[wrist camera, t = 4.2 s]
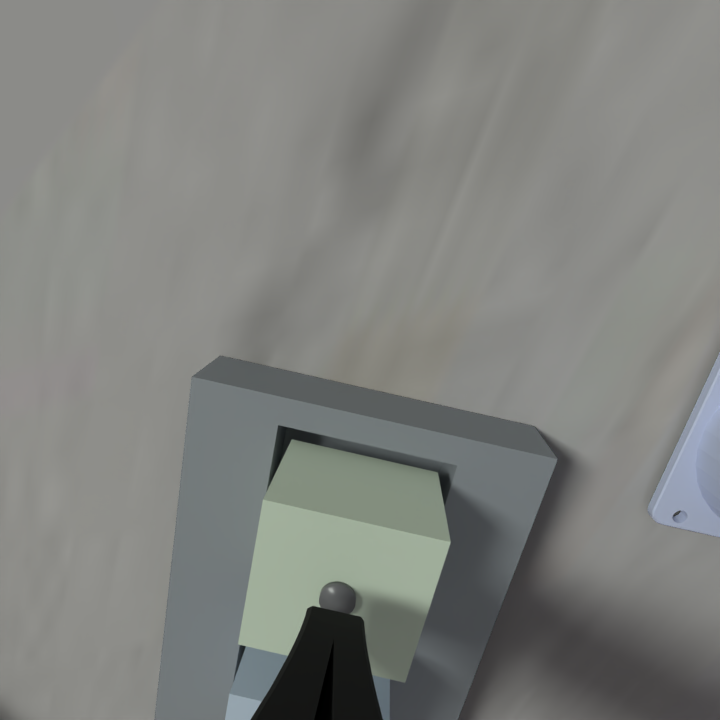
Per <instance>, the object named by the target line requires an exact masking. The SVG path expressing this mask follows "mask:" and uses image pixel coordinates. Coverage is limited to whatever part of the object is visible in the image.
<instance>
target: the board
mask: <svg viewBox="0 0 720 720" xmlns="http://www.w3.org/2000/svg"><path fill="white" fill-rule="evenodd" d="M292 439H293V440H297V441H302V442H306V443H311V444H315V445H319V446H324V447H328V448H333V449H337V450H342V451H346V452H350V453H355V454H359V455H364V456H368V457H372V458H377V459H381V460H386V461H390V462H395V463H399V464H403V465H408V466H412V467H417V468H421V469H425V470H430V471H434V472H438V476H439V481H440V486H441V492H442V497H443V503H444V508H445V513H446V519H447V524H448V530H449V535H450V541H451V543H450V546H449V549H448V552H447V555H446V559H445V562H444V565H443V568H442V571H441V574H440V577H439V580H438V583H437V586H436V589H435V592H434V595H433V599H432V602H431V605H430V608H429V611H428V614H427V617H426V620H425V623H424V626H423V629H422V632H421V635H420V639H419V642H418V645H417V648H416V651H415V654H414V657H413V660H412V663H411V666H410V669H409V672H408V675H407V679H406V682H405V683H404V682H400V681H395V680H391V679H390V720H458V718H459V715H460V713H461V710H462V708H463V705H464V702H465V700H466V697H467V694H468V692H469V689H470V687H471V684H472V681H473V679H474V676H475V674H476V671H477V668H478V666H479V663H480V661H481V658H482V655H483V653H484V650H485V648H486V645H487V642H488V640H489V637H490V635H491V632H492V629H493V627H494V624H495V622H496V619H497V616H498V614H499V611H500V608H501V606H502V603H503V601H504V598H505V595H506V593H507V590H508V588H509V585H510V582H511V580H512V577H513V575H514V572H515V569H516V567H517V564H518V562H519V559H520V556H521V554H522V551H523V549H524V546H525V543H526V541H527V538H528V535H529V533H530V530H531V528H532V525H533V522H534V520H535V517H536V515H537V512H538V509H539V507H540V504H541V502H542V499H543V496H544V494H545V491H546V489H547V486H548V483H549V481H550V478H551V476H552V473H553V470H554V468H555V465H556V462H557V460H558V459H557V457H556V456H555V455H554V453H553V452H552V450H551V449H550V448H549V446H548V445H547V443H546V442H545V441H544V439H543V438H542V436H541V435H540V434H539V432H538V431H537V429H536V428H535V427H534V426H531V425H526V424H522V423H517V422H513V421H509V420H504V419H500V418H495V417H491V416H486V415H482V414H477V413H473V412H469V411H464V410H460V409H455V408H451V407H446V406H442V405H437V404H433V403H429V402H424V401H420V400H415V399H411V398H406V397H402V396H398V395H393V394H389V393H384V392H380V391H375V390H371V389H366V388H362V387H358V386H353V385H349V384H344V383H340V382H335V381H331V380H326V379H322V378H318V377H313V376H309V375H304V374H300V373H295V372H291V371H286V370H282V369H278V368H273V367H269V366H264V365H260V364H255V363H251V362H247V361H242V360H238V359H233V358H229V357H224V356H219V357H218V358H216V359H215V360H214V361H212V362H211V363H210V364H208V365H207V366H206V367H204V368H203V369H202V370H200V371H199V372H197V373H196V374H195V375H193V376H192V380H191V389H190V398H189V407H188V416H187V426H186V435H185V444H184V453H183V462H182V471H181V481H180V490H179V499H178V508H177V517H176V526H175V536H174V545H173V554H172V563H171V572H170V582H169V591H168V600H167V609H166V618H165V627H164V637H163V646H162V655H161V664H160V673H159V682H158V692H157V701H156V710H155V719H154V720H225V716H226V710H227V705H228V699H229V693H230V691H231V688H232V685H233V682H234V679H235V676H236V673H237V671H238V668H239V665H240V662H241V659H242V656H243V654H244V651H245V648H246V646H243V645H239V644H238V641H239V635H240V629H241V624H242V618H243V612H244V606H245V600H246V595H247V589H248V583H249V577H250V571H251V566H252V560H253V554H254V548H255V542H256V537H257V531H258V525H259V519H260V514H261V508H262V502H263V498H264V496H265V494H266V492H267V490H268V488H269V486H270V484H271V482H272V480H273V477H274V475H275V473H276V471H277V469H278V467H279V465H280V463H281V461H282V459H283V457H284V454H285V452H286V450H287V448H288V446H289V444H290V442H291V440H292Z"/></svg>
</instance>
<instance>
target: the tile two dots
mask: <svg viewBox="0 0 720 720" xmlns="http://www.w3.org/2000/svg"><path fill="white" fill-rule="evenodd" d="M287 657H288V656H286V655H282V654H278V653H273V652H269V651H265V650H260V649H256V648H252V647H247V646H246V648H245V651H244V654H243V656H242V659H241V662H240V665H239V668H238V671H237V673H236V676H235V679H234V682H233V685H232V688H231V691H230V693H229V699H228V705H227V710H226V716H225V720H251V718H252V716H253V715H254V713H255V712H256V710H257V708H258V707H259V705H260V704H261V702H262V700H263V699H264V697H265V696H266V694H267V692H268V691H269V689H270V687H271V686H272V684H273V682H274V680H275V679H276V677H277V675H278V673H279V671H280V670H281V668H282V666H283V664H284V662H285V660H286V659H287ZM372 676H373V681H374V685H375V690H376V694H377V698H378V702H379V706H380V710H381V714H382V718H383V720H390V679H387V678H382V677H378V676H374V675H372Z"/></svg>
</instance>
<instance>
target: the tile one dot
mask: <svg viewBox="0 0 720 720" xmlns="http://www.w3.org/2000/svg"><path fill="white" fill-rule="evenodd" d="M450 543H451V541H450V535H449V530H448V524H447V519H446V513H445V508H444V503H443V497H442V492H441V486H440V481H439V476H438V472H434V471H430V470H425V469H421V468H417V467H412V466H408V465H403V464H399V463H395V462H390V461H386V460H381V459H377V458H372V457H368V456H364V455H359V454H355V453H350V452H346V451H342V450H337V449H333V448H328V447H324V446H319V445H315V444H311V443H306V442H302V441H297V440H293V439H292V440H291V442H290V444H289V446H288V448H287V450H286V452H285V454H284V457H283V459H282V461H281V463H280V465H279V467H278V469H277V471H276V473H275V475H274V477H273V480H272V482H271V484H270V486H269V488H268V490H267V492H266V494H265V496H264V498H263V502H262V508H261V514H260V519H259V525H258V531H257V537H256V542H255V548H254V554H253V560H252V566H251V571H250V577H249V583H248V589H247V595H246V600H245V606H244V612H243V618H242V624H241V629H240V635H239V641H238V644H239V645H243V646H247V647H252V648H256V649H260V650H265V651H269V652H273V653H278V654H282V655H286V656H288V655H289V653H290V651H291V649H292V647H293V645H294V642H295V640H296V638H297V636H298V634H299V631H300V629H301V626H302V624H303V621H304V618H305V615H306V611H307V608H309V607H311V606H316V607H320V608H325V609H329V610H333V611H338V612H342V613H347V614H351V615H356V616H360V617H362V619H363V620H364V625H365V635H366V643H367V650H368V656H369V661H370V666H371V671H372V675H374V676H378V677H382V678H387V679H391V680H395V681H400V682H404V683H405V682H406V679H407V675H408V672H409V669H410V666H411V663H412V660H413V657H414V654H415V651H416V648H417V645H418V642H419V639H420V635H421V632H422V629H423V626H424V623H425V620H426V617H427V614H428V611H429V608H430V605H431V602H432V599H433V595H434V592H435V589H436V586H437V583H438V580H439V577H440V574H441V571H442V568H443V565H444V562H445V559H446V555H447V552H448V549H449V546H450Z"/></svg>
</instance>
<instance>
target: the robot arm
mask: <svg viewBox="0 0 720 720" xmlns="http://www.w3.org/2000/svg"><path fill="white" fill-rule="evenodd" d="M677 511H681V512H680V513H679V514H678V515H676V516H673V514H674V513H675V512H677ZM648 513H649V515H650V516H651V517H652V518H653V519H654V520H655V522H657V523H659V524H662V525H667V526H671V527H676V528H680V529H684V530H689V531H693V532H698V533H702V534H707V535H711V536H715V537H720V353H719V355H718V357H717V359H716V361H715V364H714V366H713V368H712V370H711V372H710V374H709V376H708V379H707V381H706V383H705V385H704V387H703V389H702V392H701V394H700V396H699V398H698V400H697V402H696V404H695V407H694V409H693V411H692V413H691V415H690V417H689V419H688V422H687V424H686V426H685V428H684V430H683V432H682V434H681V437H680V439H679V441H678V443H677V445H676V447H675V449H674V452H673V454H672V456H671V458H670V460H669V462H668V464H667V467H666V469H665V471H664V473H663V475H662V477H661V480H660V482H659V484H658V486H657V488H656V490H655V492H654V495H653V497H652V499H651V501H650V503H649V505H648ZM251 720H383V718H382V714H381V710H380V706H379V702H378V698H377V694H376V690H375V685H374V681H373V676H372V671H371V666H370V661H369V656H368V650H367V643H366V635H365V625H364V620H363V619H362V617H360V616H356V615H351V614H347V613H342V612H338V611H333V610H329V609H325V608H320V607H316V606H311V607H309V608H307V611H306V615H305V618H304V621H303V624H302V626H301V629H300V631H299V634H298V636H297V638H296V640H295V642H294V645H293V647H292V649H291V651H290V653H289V655H288V657H287V659H286V660H285V662H284V664H283V666H282V668H281V670H280V671H279V673H278V675H277V677H276V679H275V680H274V682H273V684H272V686H271V687H270V689H269V691H268V692H267V694H266V696H265V697H264V699H263V700H262V702H261V704H260V705H259V707H258V708H257V710H256V712H255V713H254V715H253V716H252V718H251Z"/></svg>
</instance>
